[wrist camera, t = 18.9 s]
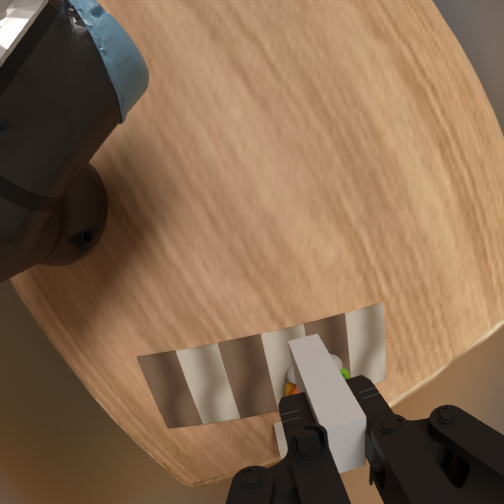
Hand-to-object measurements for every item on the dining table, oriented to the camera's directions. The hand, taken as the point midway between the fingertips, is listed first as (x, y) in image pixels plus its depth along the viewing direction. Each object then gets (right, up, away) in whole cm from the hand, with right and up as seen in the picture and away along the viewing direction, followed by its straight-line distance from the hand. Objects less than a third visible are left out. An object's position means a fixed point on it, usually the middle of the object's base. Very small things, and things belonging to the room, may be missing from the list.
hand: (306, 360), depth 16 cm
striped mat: (0, -12, +30) cm, 32 cm away
